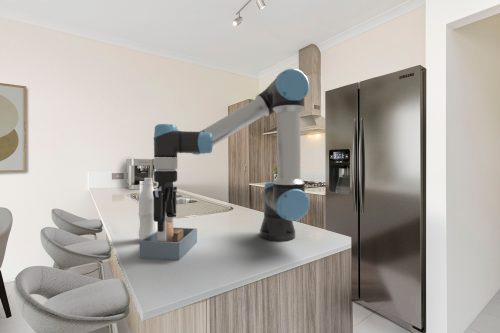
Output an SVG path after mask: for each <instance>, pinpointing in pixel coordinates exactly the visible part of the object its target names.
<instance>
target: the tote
mask: <svg viewBox="0 0 500 333" xmlns="http://www.w3.org/2000/svg"><path fill="white" fill-rule="evenodd" d="M173 229H183V239H181V240H180V241H179V242H162V241H157V231H156V232H155V233H153V234H151V235H149V236H148V237H146V238H144V239H143V240H139V241H138V242H139V243H138V244H139V247H138V248H139V249H138V250H139V253H138V254H139V258H140V259H153V260H168V259H169V261H170V260H171V261H174V260H175V261H180V260H182V258H183V257H184V256H185V255H186V254H187V253H188V252H189V251H190V250H191V249H192V248H193V247H194V246H195V245H196V244H197V243H198V228H194V227H173Z"/></svg>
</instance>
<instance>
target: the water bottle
mask: <svg viewBox="0 0 500 333" xmlns="http://www.w3.org/2000/svg"><path fill="white" fill-rule="evenodd" d="M143 179H144V180H143V188H142V190H141V191H140V194H139V195H138V217H139V218H138V219H139V230H138V238H139V241H141V240H143V239H144V238H146V237H148V236H149V235H151V234H153V233H155V232H156V231H157V223H158V222H155V221H154V197H153V191H156V190H155V188H154V185H153V184H154V180H153V177H144V178H143Z"/></svg>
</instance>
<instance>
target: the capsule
mask: <svg viewBox="0 0 500 333" xmlns="http://www.w3.org/2000/svg"><path fill="white" fill-rule="evenodd" d="M173 228H174V221H173V222H171V221H166V241H162V242H173ZM157 241H158V222H157Z"/></svg>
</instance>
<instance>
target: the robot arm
mask: <svg viewBox="0 0 500 333" xmlns="http://www.w3.org/2000/svg"><path fill="white" fill-rule="evenodd" d="M309 91H310V82H309V79H308V76H306V74H304V72H303V71H302V70H300V69H298V68H286V69H285V70H283V71H281V72H279V73H278V75H277V76H276V77H275V79H274V80H273V81H272V82H271V83H270V84H269V86H267V87H266V88H265V89H264V90H263V91H261V92H260V93H259V94H256V96H255V99H254V100H251V101H250V102H248V103H247V104H245V105H243V106H241V107H239V108H237V109H236V110H235V111H233V112H230V113H229V114H227V115H226V116H224V117H222V118H221V119H219V120H217V121H216V122H214V123H212V124H210V125H209V126H207V127H205V128H204V129H202V130H200V131H183V130H181V131H180V130H178V126H177V125H176V124H170V123H169V124H168V123H160V124H159V123H158V124H156V125H155V126H154V134H153V136H154V137H153V166H154V167H153V168H154V169H155V171H153V182H155V183H157V189H156V190H155V191H153V197H154V221H155V222H157V223H158V241H166V221H171V222H173V223H174V218H176V217H177V192H178V187H177V186H174V183H176V182H178V171H177V170H178V154H193V155H201V154H202V155H203V154H204V155H205V154H210V153H212V152H213V147H214V146H215V145H217V144H218V143H220V142H222V141H224V140H225V139H228V138H229V137H230V136H233V134H236V133H237V132H239V131H241V130H243V129H244V128H246V127H247V126H249V125H251V124H252V123H254V122H255V121H257V120H259V119H261V118H262V117H264V116H265V117H268V116H269V117H270V116H271V115H273V114H275V113H276V114H275V115H276V166H277V167H276V168H277V170H276V175H277V176H276V179H275V180H274V181H270V182H266V183H265V184H264V187H263V193H264V194H263V195H264V196H263V197H264V198H263V208H264V209H263V210H264V211H263V220H262V223H261V226H260V229H259V236H260V237H261V238H263V239H265V240H269V241H275V242H276V241H279V242H283V241H285V242H286V241H290V240H293V239H295V238H296V229H295V225H294V221H298V220H302V218H304V217H305V216H306V215H307V213H308V211H309V209H310V198H309V196H308V195H307V193H306V188H305V187H306V184H305V183H306V182H305V181H303V179H302V178H301V113H302V112H303V111H304V110H305V97H306V96H307V95H308V93H309Z"/></svg>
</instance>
